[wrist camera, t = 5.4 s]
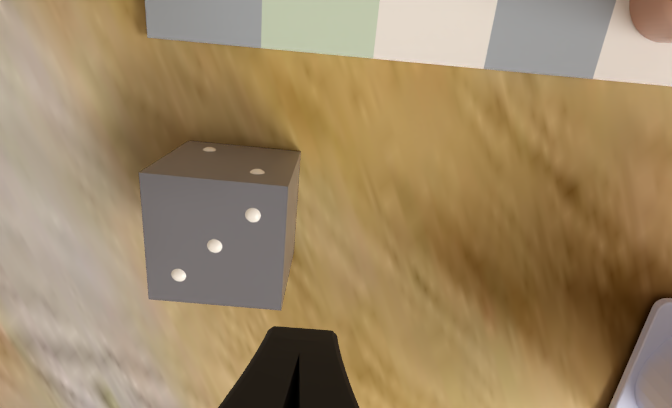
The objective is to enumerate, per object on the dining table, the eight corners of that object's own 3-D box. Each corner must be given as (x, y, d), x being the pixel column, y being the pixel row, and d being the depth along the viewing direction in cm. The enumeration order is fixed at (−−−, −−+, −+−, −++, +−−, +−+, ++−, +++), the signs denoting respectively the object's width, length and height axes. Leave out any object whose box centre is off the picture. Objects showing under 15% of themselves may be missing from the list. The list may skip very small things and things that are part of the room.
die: (301, 148, 17) (288, 184, 12) (294, 249, 18) (280, 312, 14) (186, 137, 17) (133, 170, 12) (190, 240, 18) (144, 300, 14)
